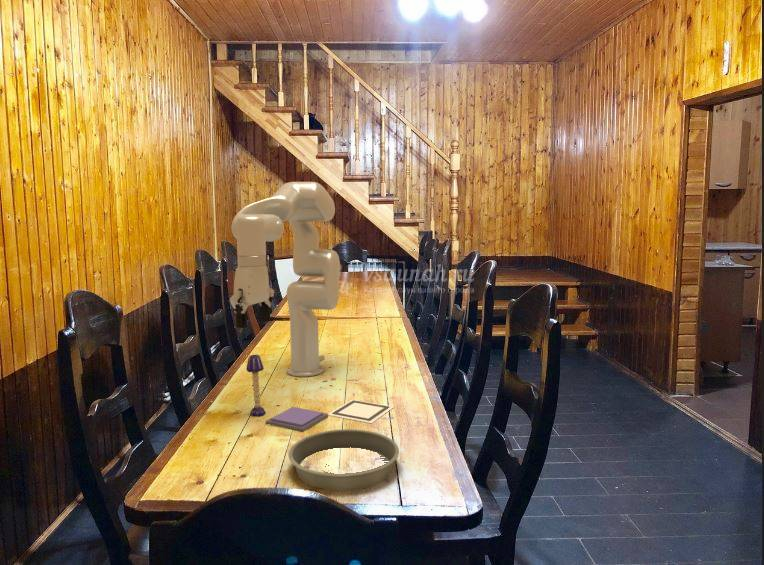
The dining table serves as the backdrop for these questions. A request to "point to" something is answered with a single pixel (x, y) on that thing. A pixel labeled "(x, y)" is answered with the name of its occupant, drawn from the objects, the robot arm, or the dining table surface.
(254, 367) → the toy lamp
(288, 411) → the ink pad
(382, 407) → the marked card
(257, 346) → the dining table surface
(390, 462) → the cake pan
